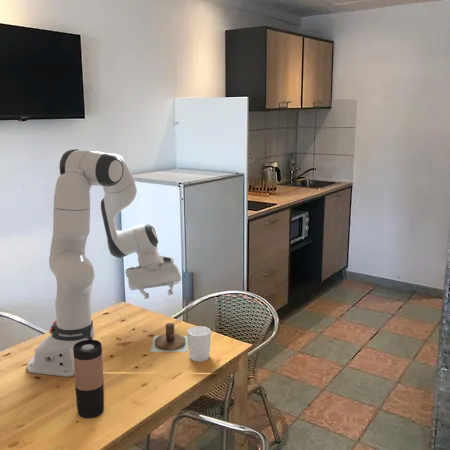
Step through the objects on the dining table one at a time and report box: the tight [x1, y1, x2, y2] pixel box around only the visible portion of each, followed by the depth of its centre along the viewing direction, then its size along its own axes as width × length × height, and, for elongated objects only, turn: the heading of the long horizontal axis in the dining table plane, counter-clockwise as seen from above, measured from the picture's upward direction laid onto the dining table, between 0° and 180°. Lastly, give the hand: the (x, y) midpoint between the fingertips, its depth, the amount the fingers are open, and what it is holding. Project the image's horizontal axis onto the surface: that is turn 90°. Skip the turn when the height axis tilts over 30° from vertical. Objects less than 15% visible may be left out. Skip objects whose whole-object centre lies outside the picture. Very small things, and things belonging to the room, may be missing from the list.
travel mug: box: [73, 339, 105, 420], centre depth 138 cm, size 8×8×20 cm
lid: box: [155, 322, 185, 350], centre depth 181 cm, size 11×11×7 cm
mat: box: [149, 335, 189, 353], centre depth 181 cm, size 13×13×1 cm
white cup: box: [187, 325, 212, 362], centre depth 171 cm, size 8×8×10 cm
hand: (159, 296), depth 189 cm, fingers open, 8 cm apart
